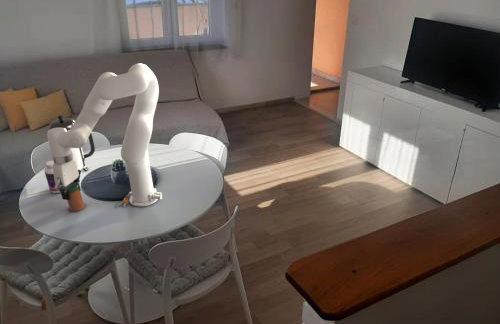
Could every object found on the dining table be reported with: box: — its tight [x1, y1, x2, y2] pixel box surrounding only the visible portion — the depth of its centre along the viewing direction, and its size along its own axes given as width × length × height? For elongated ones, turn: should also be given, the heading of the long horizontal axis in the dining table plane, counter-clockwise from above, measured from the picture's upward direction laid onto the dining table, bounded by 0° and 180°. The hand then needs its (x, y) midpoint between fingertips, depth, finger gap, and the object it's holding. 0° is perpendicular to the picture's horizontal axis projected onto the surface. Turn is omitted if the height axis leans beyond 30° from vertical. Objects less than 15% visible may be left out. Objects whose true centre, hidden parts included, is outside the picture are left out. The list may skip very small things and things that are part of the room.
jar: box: [66, 190, 85, 212], centre depth 176 cm, size 6×6×10 cm
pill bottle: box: [44, 159, 61, 194], centre depth 190 cm, size 8×8×14 cm
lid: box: [62, 182, 81, 193], centre depth 174 cm, size 7×7×2 cm
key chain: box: [115, 190, 132, 208], centre depth 183 cm, size 13×4×2 cm, turn 165°
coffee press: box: [47, 114, 96, 172], centre depth 205 cm, size 17×16×30 cm
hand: (71, 194), depth 175 cm, fingers closed on lid, 6 cm apart
